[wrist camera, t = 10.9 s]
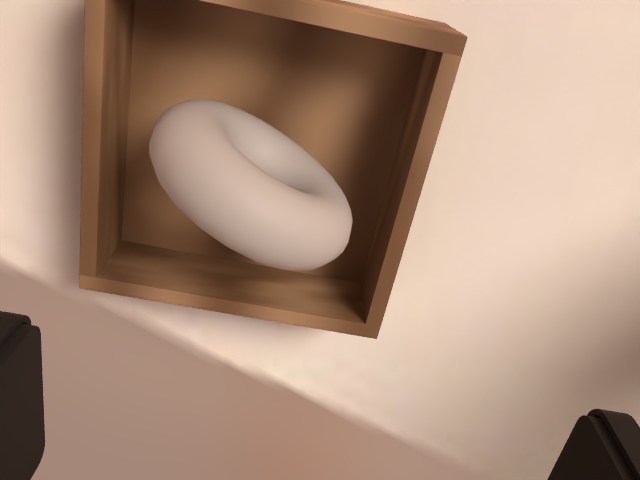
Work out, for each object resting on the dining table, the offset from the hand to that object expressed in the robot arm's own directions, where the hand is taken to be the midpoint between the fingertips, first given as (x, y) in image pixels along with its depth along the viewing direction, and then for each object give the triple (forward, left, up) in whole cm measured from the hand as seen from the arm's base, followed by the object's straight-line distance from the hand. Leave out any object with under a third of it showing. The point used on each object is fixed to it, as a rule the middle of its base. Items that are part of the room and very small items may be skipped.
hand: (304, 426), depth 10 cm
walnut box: (+2, +2, -23) cm, 23 cm away
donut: (+2, +2, -22) cm, 22 cm away
